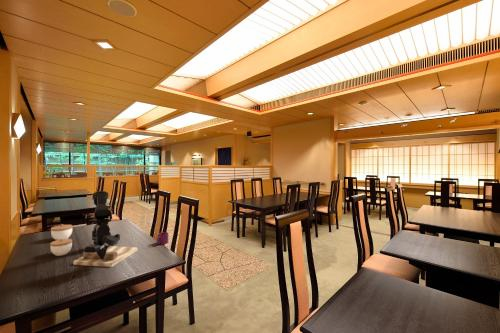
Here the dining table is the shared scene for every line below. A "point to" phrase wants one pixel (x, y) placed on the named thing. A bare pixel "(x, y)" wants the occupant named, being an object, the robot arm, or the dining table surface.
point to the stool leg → (94, 255)
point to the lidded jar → (61, 246)
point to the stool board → (121, 254)
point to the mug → (162, 238)
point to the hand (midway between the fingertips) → (102, 259)
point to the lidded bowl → (61, 231)
